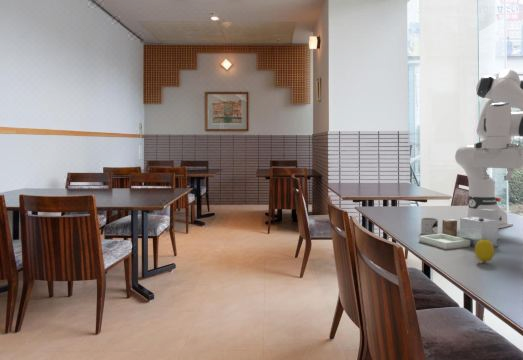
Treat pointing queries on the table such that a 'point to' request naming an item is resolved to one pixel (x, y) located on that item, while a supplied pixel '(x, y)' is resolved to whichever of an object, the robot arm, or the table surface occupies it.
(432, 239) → the tray
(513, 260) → the table surface
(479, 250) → the lemon
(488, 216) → the skincare box
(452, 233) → the block
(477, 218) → the block
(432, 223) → the mug
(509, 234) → the table surface
